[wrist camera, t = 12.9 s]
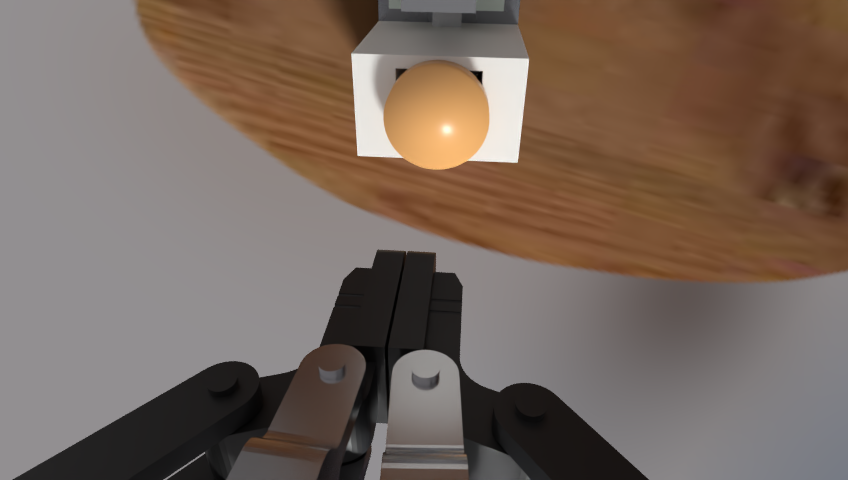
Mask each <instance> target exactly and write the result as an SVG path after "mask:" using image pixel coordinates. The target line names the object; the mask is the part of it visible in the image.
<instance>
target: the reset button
mask: <svg viewBox="0 0 848 480" xmlns="http://www.w3.org/2000/svg"><path fill="white" fill-rule="evenodd" d="M383 120H384V127H385V132H386V134H387V137H388V139H389V141H390V143H391V145H392V146H393V147H394V149H395V150H396V151H397V152H398V153H399V154H400V155H401V156H402V157H403V158H404V159H406V160H407V161H409V162H411V163H413V164H415V165H417V166H420V167H423V168H427V169H448V168H452V167H455V166H458V165H460V164H462V163H464V162H466V161H467V160H468V159H470V158H471V157H472V156H473V155H474V154H476V153H477V151H478V150H479V149H480V148H481V146H482V144H483V143H484V141H485V138H486V136H487V133H488V129H489V104H488V98H487V95H486V92H485V90H484V88H483V86H482V84H481V83H480V81H479V80H478V79H477V77H476V76H475V75H474V74H473V73H472V72H470V71H469V70H468V69H466V68H465V67H463V66H461V65H459V64H457V63H454V62H451V61H446V60H429V61H424V62H421V63H418V64H416V65H414V66H412V67H410V68H409V69H407V70H406V71H405V72H404V73H402V74H401V75H400V77H399V78H398V79H397V80H396V82H395V83H394V85H393V87H392V89H391V91H390V93H389V95H388V98H387V100H386V103H385V107H384V116H383Z"/></svg>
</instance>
